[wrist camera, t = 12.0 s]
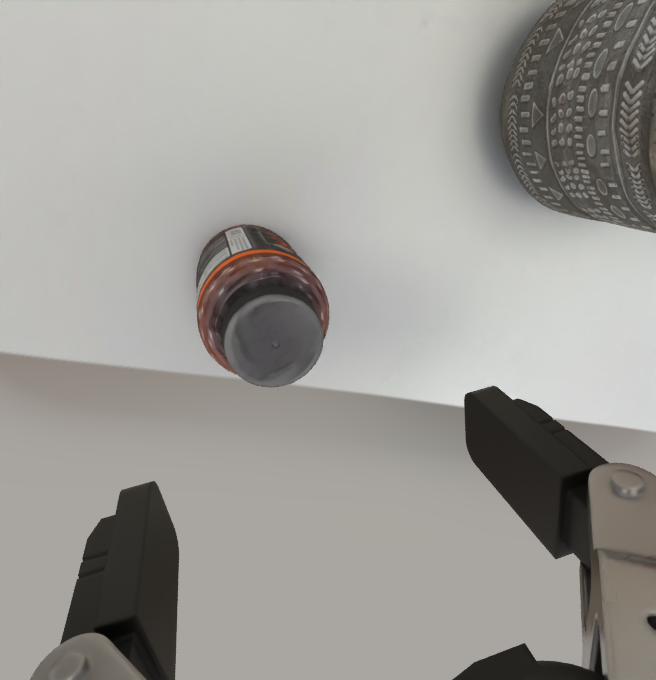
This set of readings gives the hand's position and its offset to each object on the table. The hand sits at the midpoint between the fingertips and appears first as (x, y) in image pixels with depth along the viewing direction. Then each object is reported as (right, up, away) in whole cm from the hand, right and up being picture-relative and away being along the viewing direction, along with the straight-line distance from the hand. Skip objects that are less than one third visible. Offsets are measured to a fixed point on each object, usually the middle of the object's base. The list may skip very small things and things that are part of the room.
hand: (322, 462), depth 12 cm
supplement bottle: (-5, +7, +17) cm, 19 cm away
